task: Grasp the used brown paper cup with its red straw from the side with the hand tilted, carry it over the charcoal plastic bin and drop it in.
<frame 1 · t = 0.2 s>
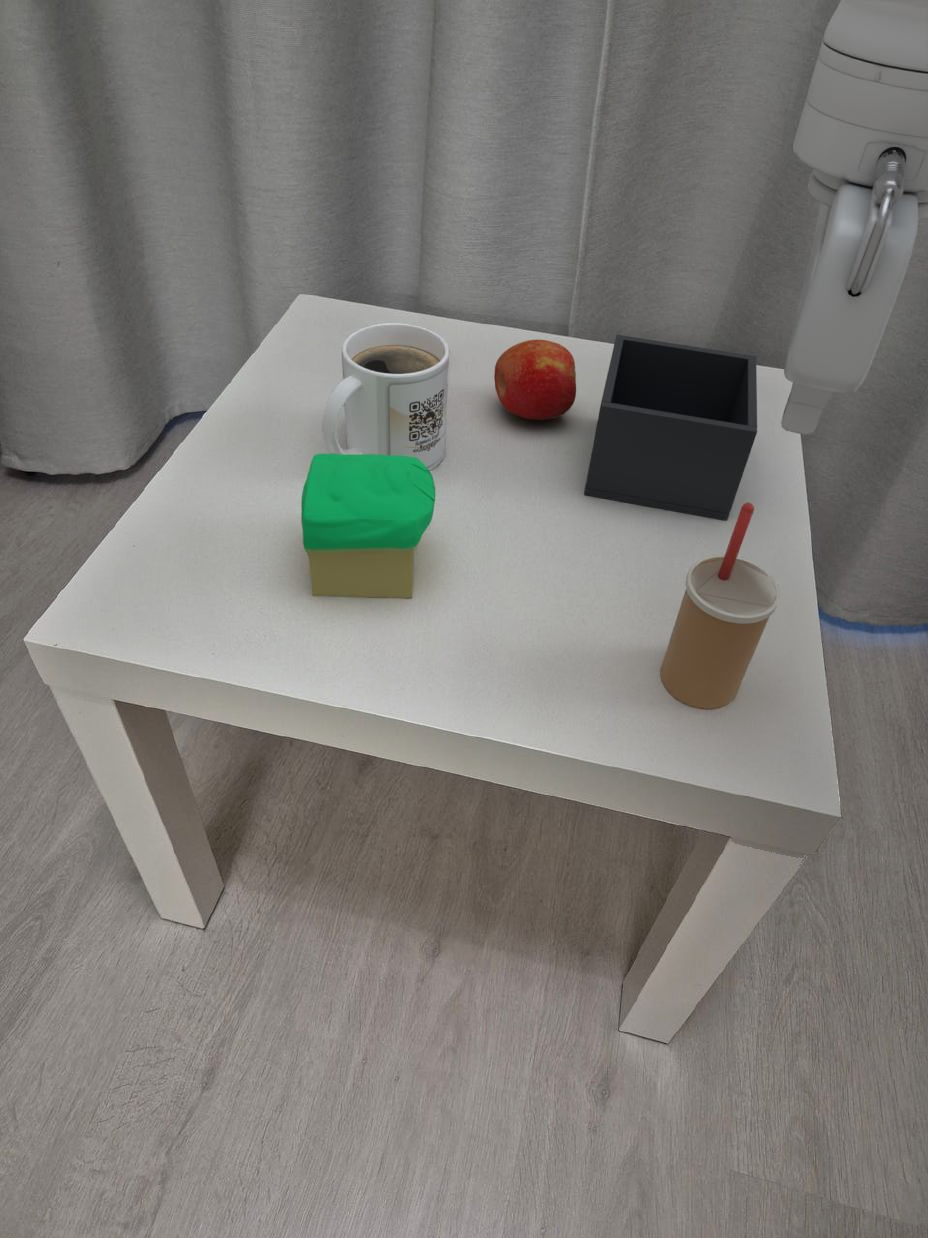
hand: (804, 386, 51), 25 cm above the table, tool pointing down, fingers open, 8 cm apart
mug: (385, 453, 87), on the table
apple: (530, 415, 94), on the table
paper cup: (698, 679, 68), on the table
bin: (659, 467, 88), on the table
cake: (370, 565, 76), on the table
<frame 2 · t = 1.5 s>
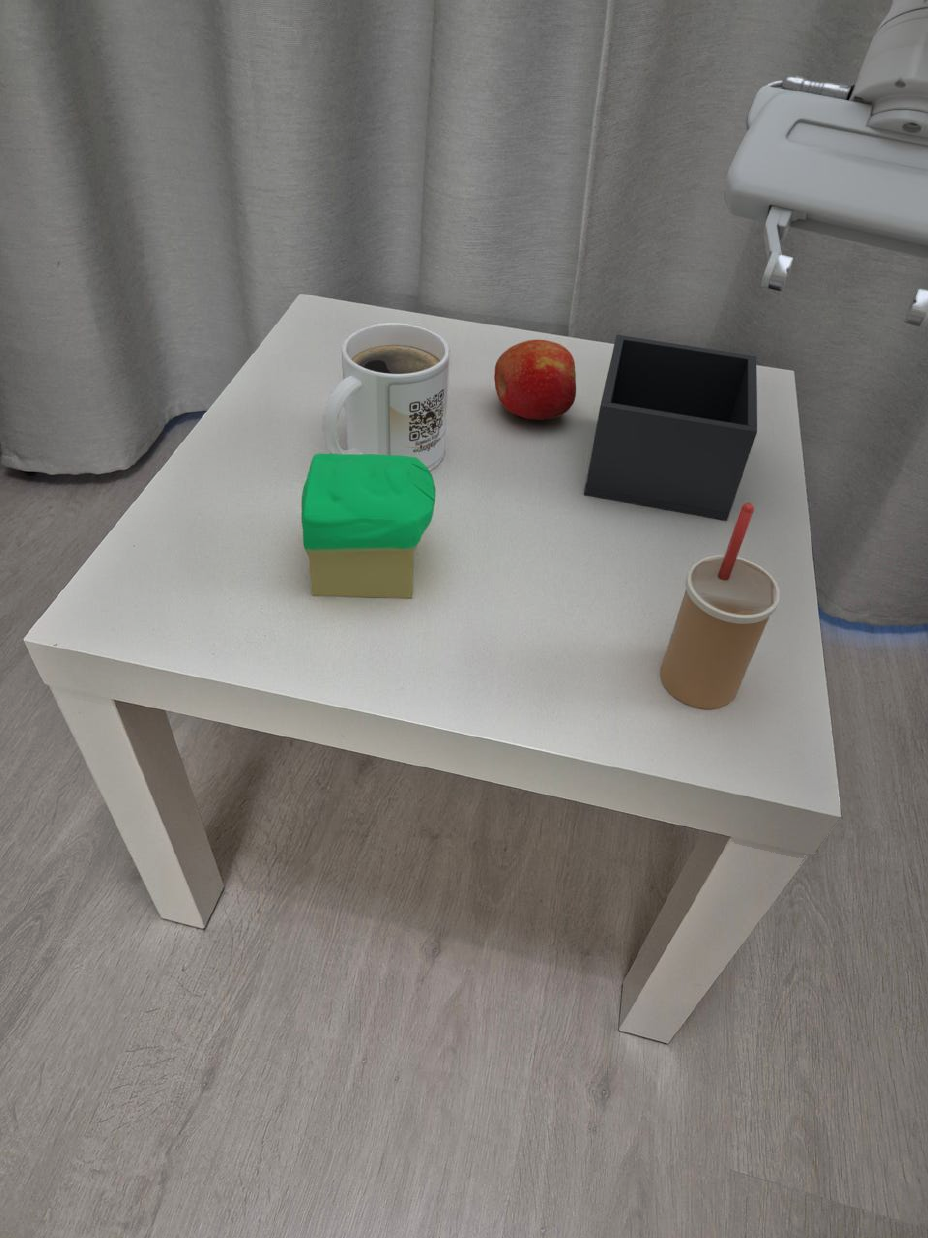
hand: (842, 303, 58), 26 cm above the table, tool tilted 45°, fingers open, 8 cm apart
nothing on the table moved.
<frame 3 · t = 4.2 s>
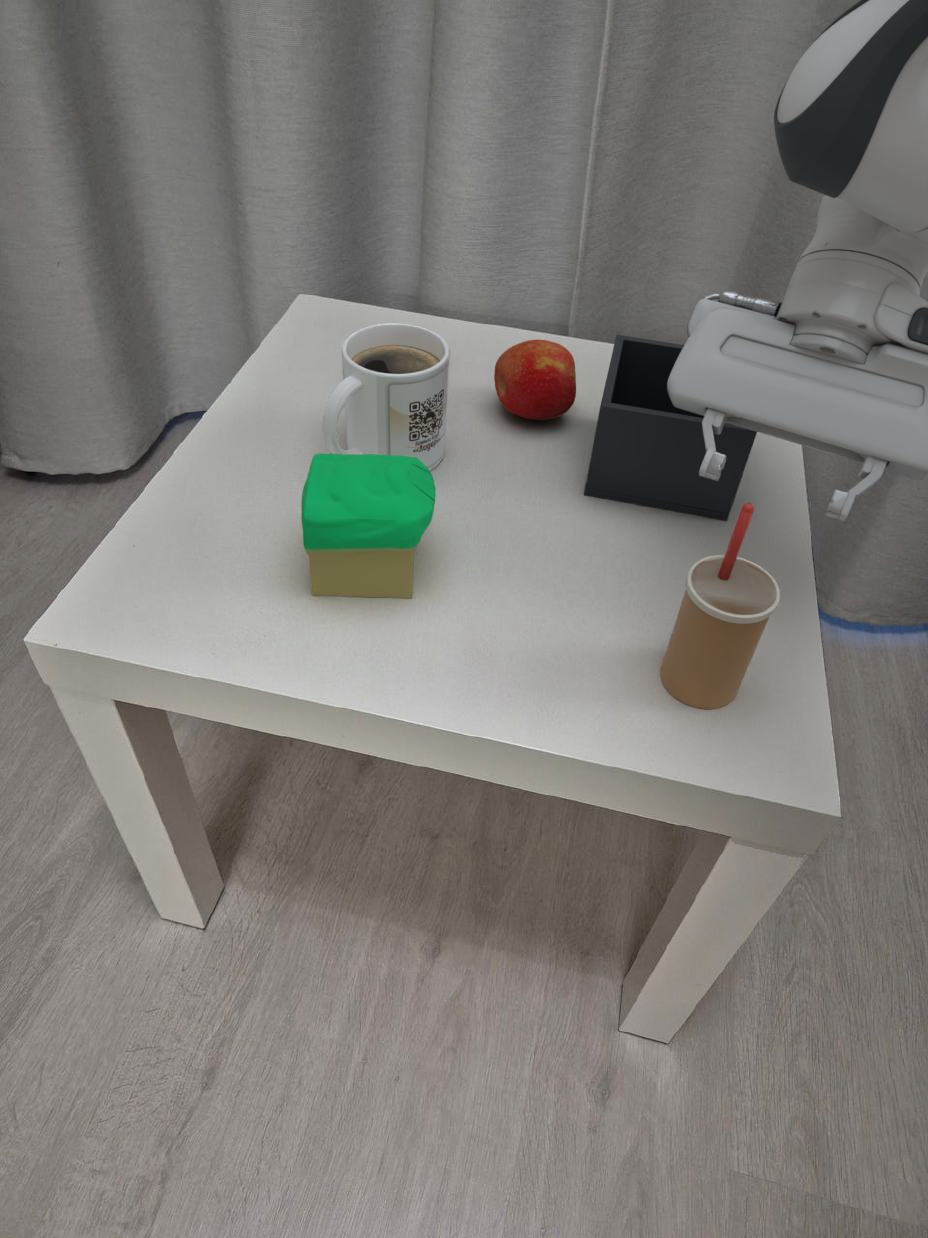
hand: (770, 497, 65), 12 cm above the table, tool tilted 45°, fingers open, 8 cm apart
nothing on the table moved.
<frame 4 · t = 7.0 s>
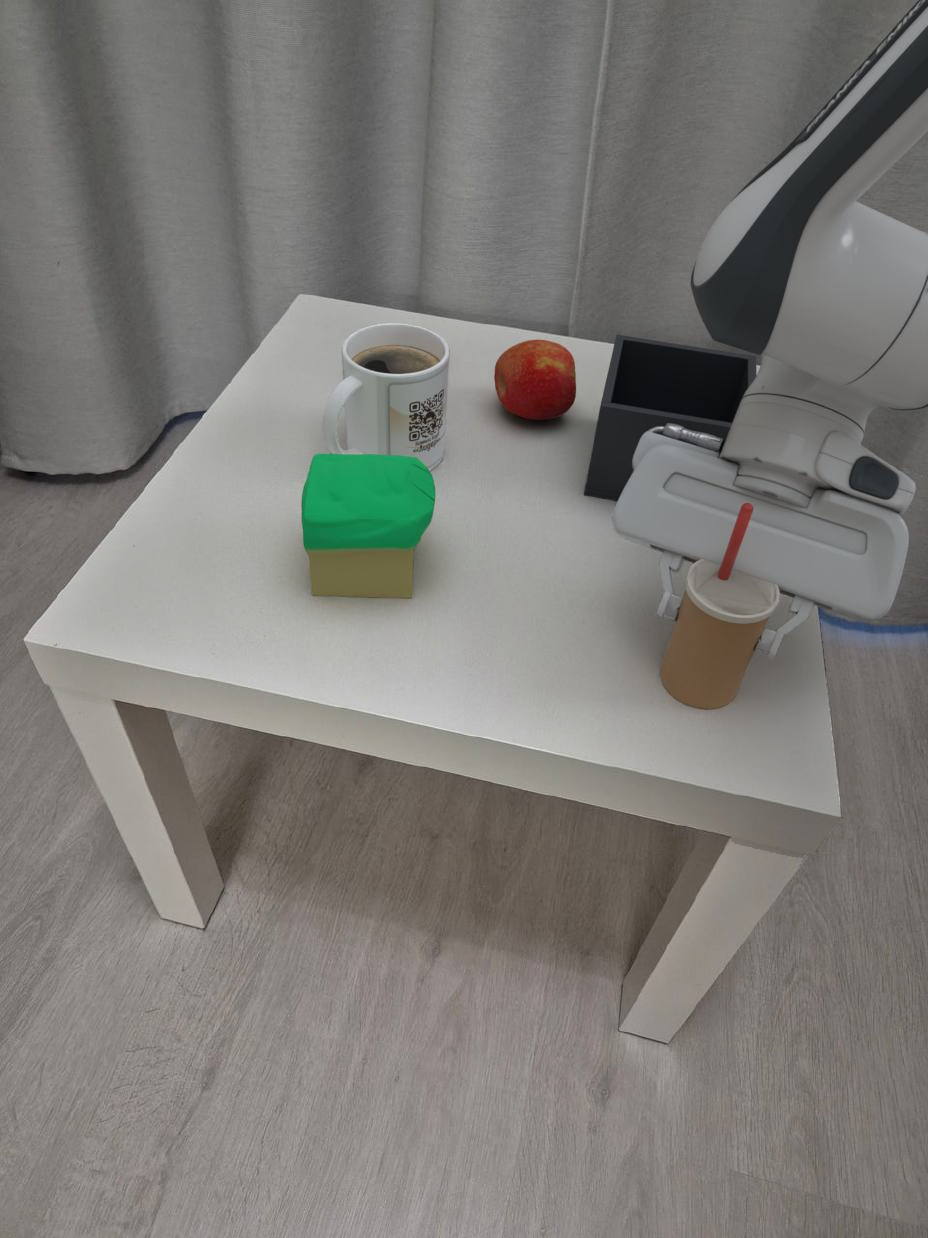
hand: (714, 636, 64), 5 cm above the table, tool tilted 45°, fingers closed on paper cup, 6 cm apart
paper cup: (698, 679, 68), on the table, touching gripper
everything else where it was.
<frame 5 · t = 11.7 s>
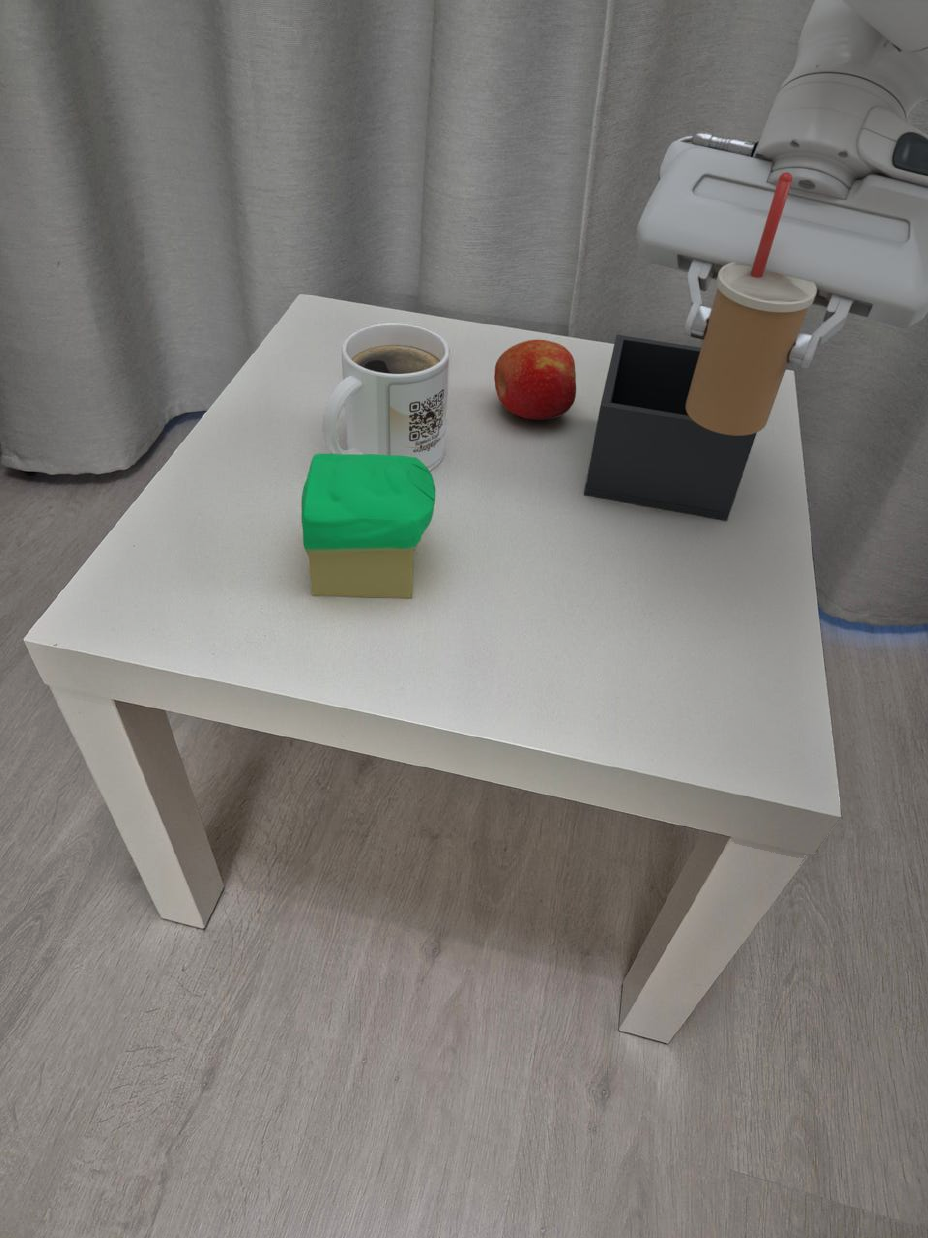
hand: (745, 349, 61), 22 cm above the table, tool tilted 45°, fingers closed on paper cup, 6 cm apart
paper cup: (726, 412, 65), point 16 cm above the table, touching gripper
everything else where it was.
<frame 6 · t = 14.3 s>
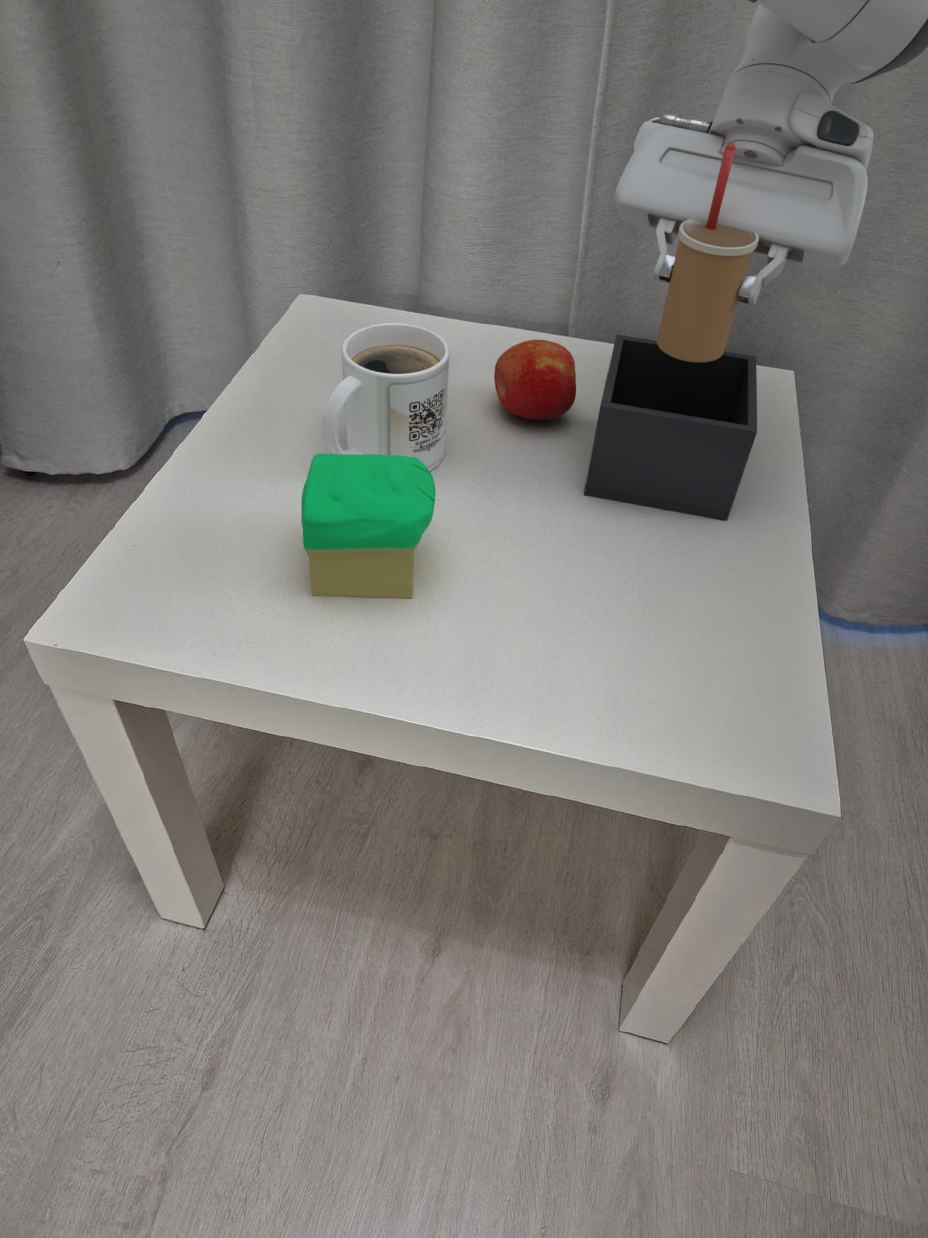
hand: (703, 290, 74), 19 cm above the table, tool tilted 45°, fingers closed on paper cup, 6 cm apart
paper cup: (690, 345, 78), point 13 cm above the table, touching gripper
everything else where it was.
when the fingers open (13 cm above the table, at t = 16.4 s): paper cup drops 7 cm, point 1 cm above the table.
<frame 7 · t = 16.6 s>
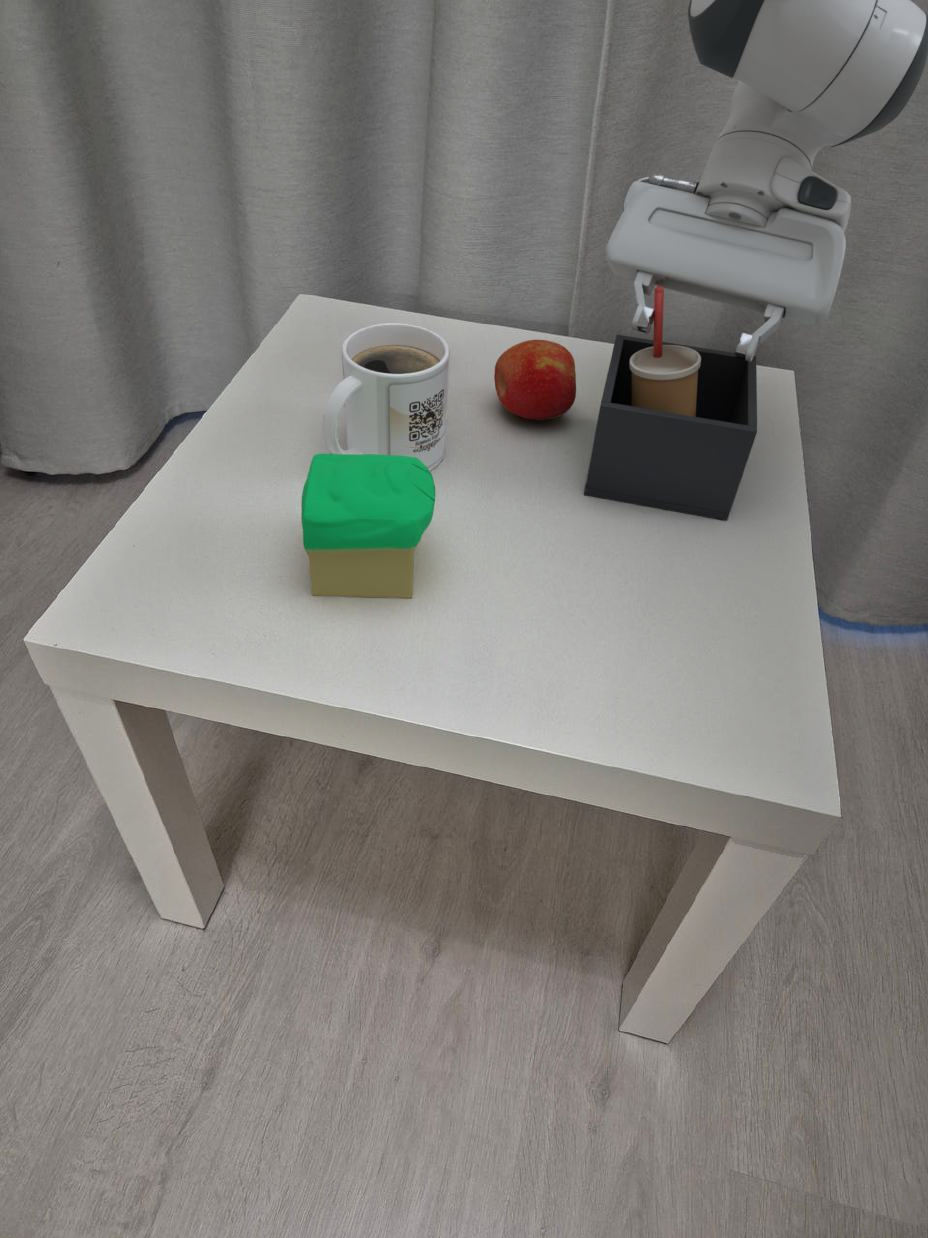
hand: (690, 343, 78), 14 cm above the table, tool tilted 45°, fingers open, 8 cm apart
paper cup: (662, 455, 87), point 1 cm above the table, tilted 11°, touching gripper
everything else where it was.
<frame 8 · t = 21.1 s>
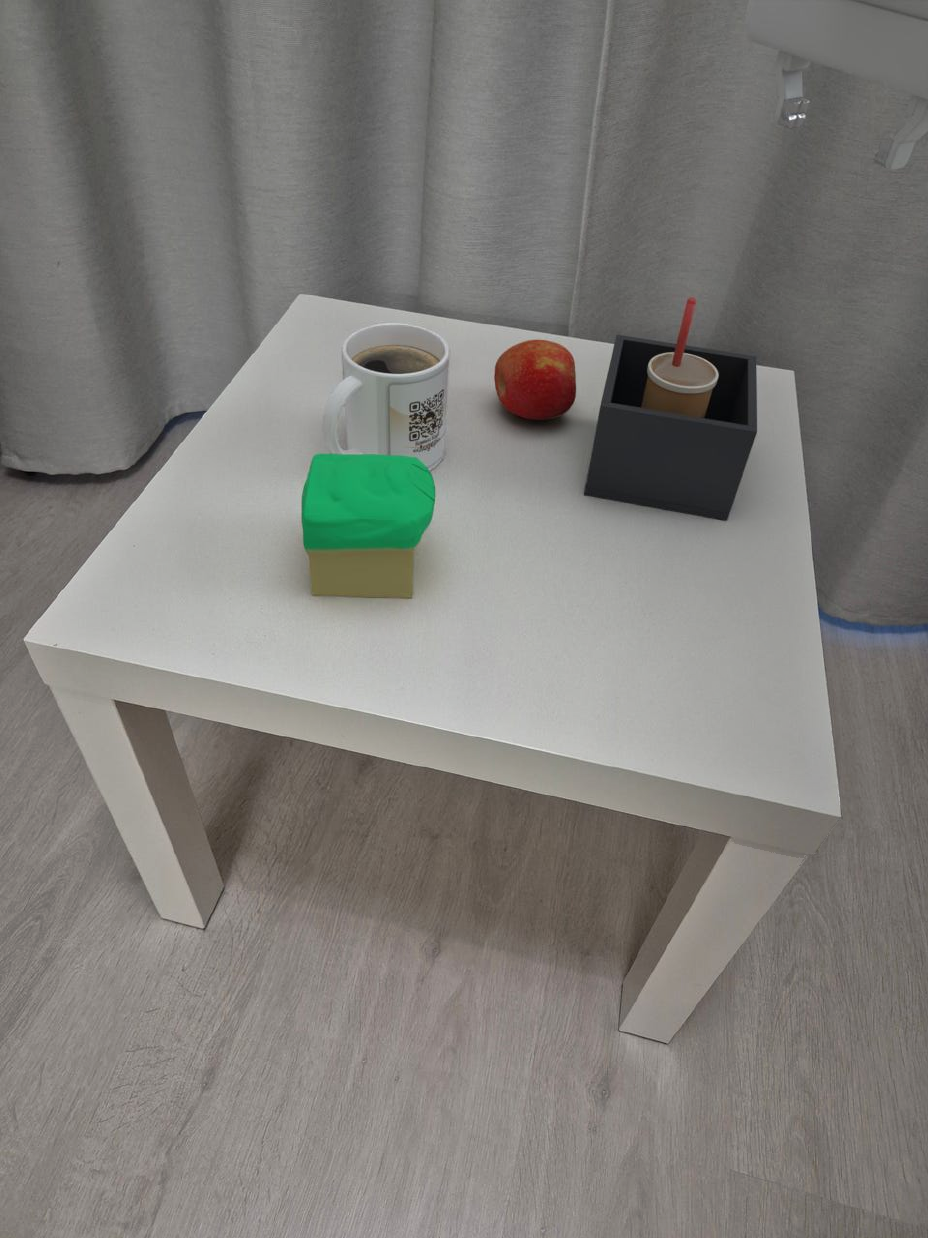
hand: (836, 144, 63), 31 cm above the table, tool pointing down, fingers open, 8 cm apart
paper cup: (660, 460, 87), point 1 cm above the table, touching bin
everything else where it was.
at the end: paper cup inside the target area in the bin (0.1 cm from its centre), point 0.8 cm above the bin's base; the gripper is holding nothing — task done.
